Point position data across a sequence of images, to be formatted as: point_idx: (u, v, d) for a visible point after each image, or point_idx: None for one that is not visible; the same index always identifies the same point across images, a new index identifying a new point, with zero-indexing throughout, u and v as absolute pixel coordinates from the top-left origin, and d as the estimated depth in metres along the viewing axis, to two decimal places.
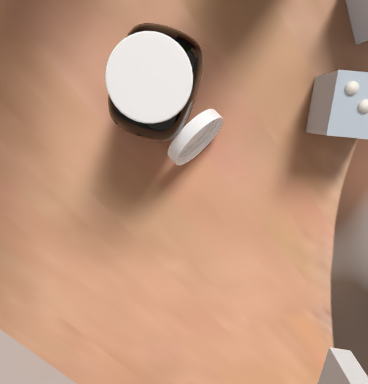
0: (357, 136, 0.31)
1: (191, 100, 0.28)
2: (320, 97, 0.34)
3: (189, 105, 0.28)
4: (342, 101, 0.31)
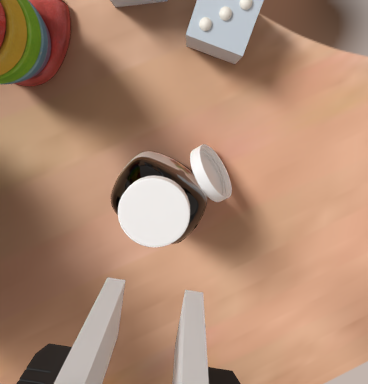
0: (252, 24, 0.32)
1: (179, 178, 0.32)
2: (206, 49, 0.35)
3: (182, 181, 0.33)
4: (215, 35, 0.32)
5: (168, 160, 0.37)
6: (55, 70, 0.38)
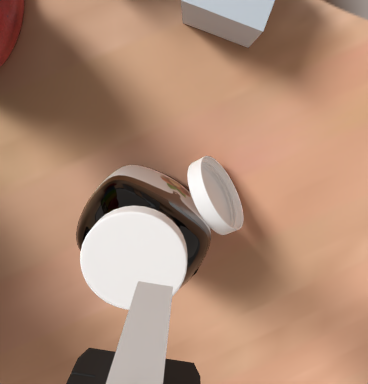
0: None
1: (171, 208, 0.22)
2: (210, 24, 0.25)
3: (176, 212, 0.23)
4: (223, 1, 0.22)
5: (158, 178, 0.27)
6: (4, 55, 0.28)
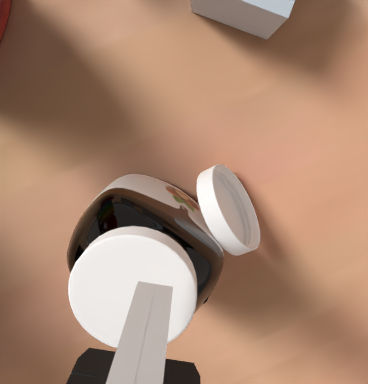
0: None
1: (178, 228, 0.19)
2: (223, 12, 0.22)
3: (184, 232, 0.19)
4: None
5: (162, 189, 0.24)
6: None
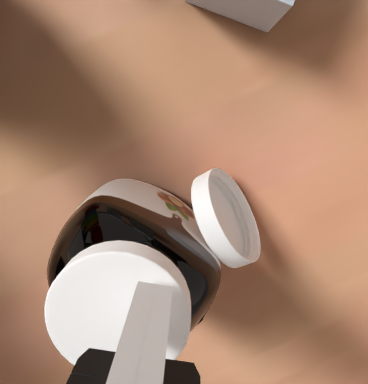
0: None
1: (170, 241, 0.17)
2: (220, 1, 0.20)
3: (177, 246, 0.17)
4: None
5: (154, 196, 0.22)
6: None
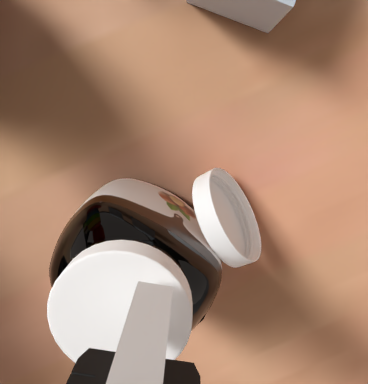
0: None
1: (171, 241, 0.17)
2: (221, 2, 0.20)
3: (178, 245, 0.17)
4: None
5: (155, 196, 0.22)
6: None
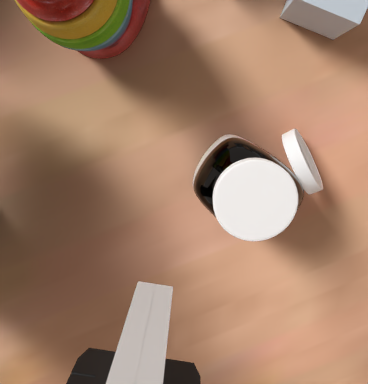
0: None
1: (280, 163, 0.28)
2: (308, 19, 0.31)
3: (284, 166, 0.28)
4: None
5: None
6: (131, 41, 0.34)
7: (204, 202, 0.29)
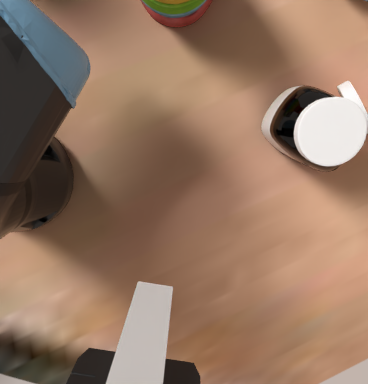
0: None
1: None
2: None
3: None
4: None
5: None
6: (204, 10, 0.40)
7: (282, 140, 0.35)
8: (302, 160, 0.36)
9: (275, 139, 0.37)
